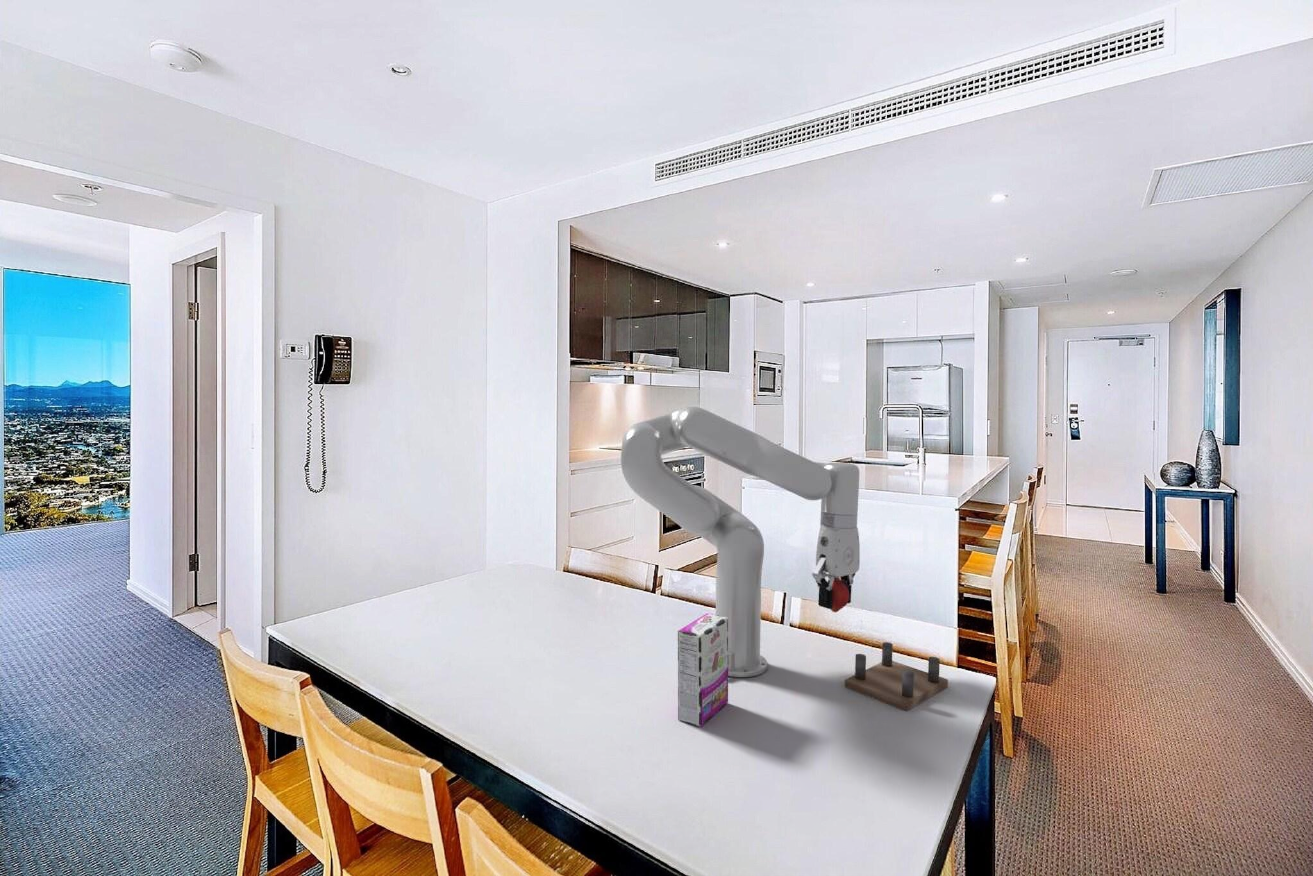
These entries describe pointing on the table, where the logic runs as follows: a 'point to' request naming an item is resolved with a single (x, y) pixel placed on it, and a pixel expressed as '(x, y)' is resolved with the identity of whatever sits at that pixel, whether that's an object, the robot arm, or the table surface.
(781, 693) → the table surface
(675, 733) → the table surface
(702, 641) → the candy bar box
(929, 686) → the peg holder
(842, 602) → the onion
